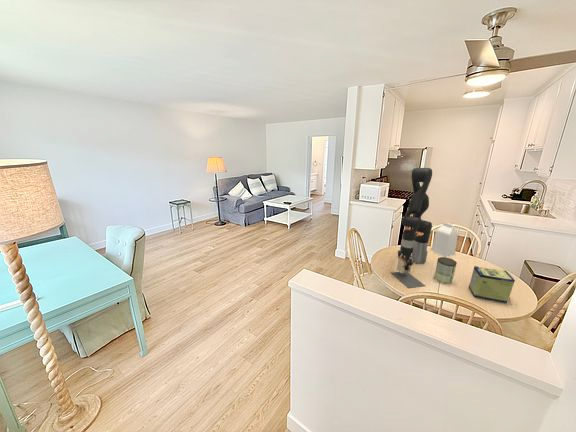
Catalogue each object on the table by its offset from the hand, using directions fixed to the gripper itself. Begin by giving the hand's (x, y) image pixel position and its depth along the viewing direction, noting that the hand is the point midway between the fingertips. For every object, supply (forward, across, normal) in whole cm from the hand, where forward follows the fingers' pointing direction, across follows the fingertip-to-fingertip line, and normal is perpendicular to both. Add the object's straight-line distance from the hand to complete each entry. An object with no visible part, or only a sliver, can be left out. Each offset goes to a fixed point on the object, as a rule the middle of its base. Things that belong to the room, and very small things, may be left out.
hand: (403, 267), depth 152 cm
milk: (+6, +24, -54) cm, 59 cm away
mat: (+6, -4, 0) cm, 8 cm away
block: (+2, 0, 0) cm, 2 cm away
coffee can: (+6, -9, -23) cm, 26 cm away
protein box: (+6, -28, -35) cm, 46 cm away
